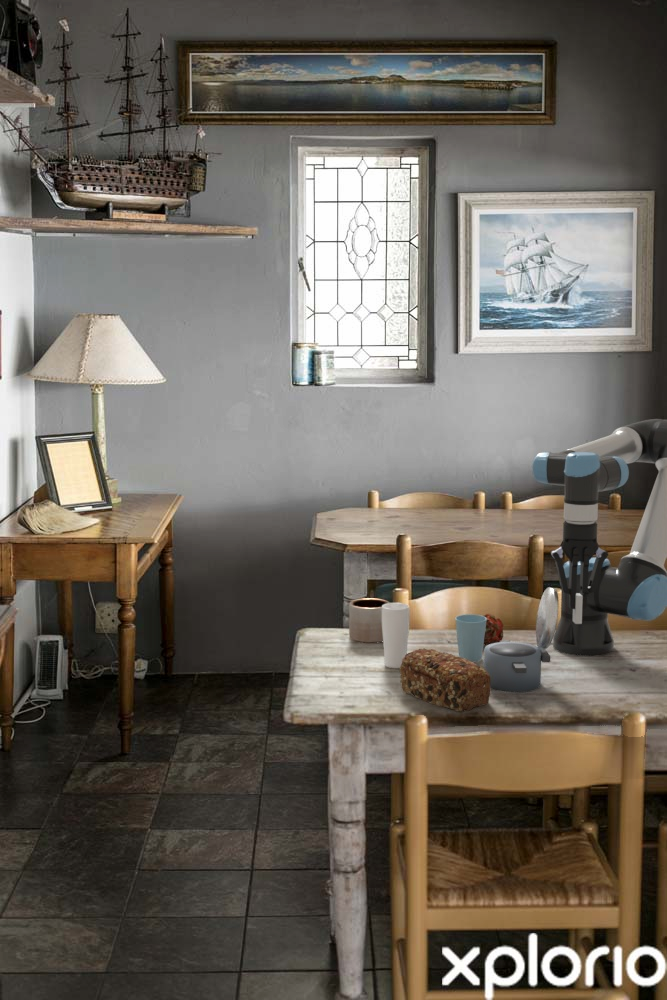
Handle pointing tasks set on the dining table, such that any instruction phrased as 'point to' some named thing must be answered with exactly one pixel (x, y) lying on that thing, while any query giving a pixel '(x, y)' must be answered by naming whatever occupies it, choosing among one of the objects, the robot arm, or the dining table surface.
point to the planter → (366, 620)
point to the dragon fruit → (493, 630)
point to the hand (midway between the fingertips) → (577, 622)
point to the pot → (514, 666)
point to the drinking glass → (395, 633)
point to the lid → (547, 618)
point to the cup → (470, 636)
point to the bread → (444, 679)
